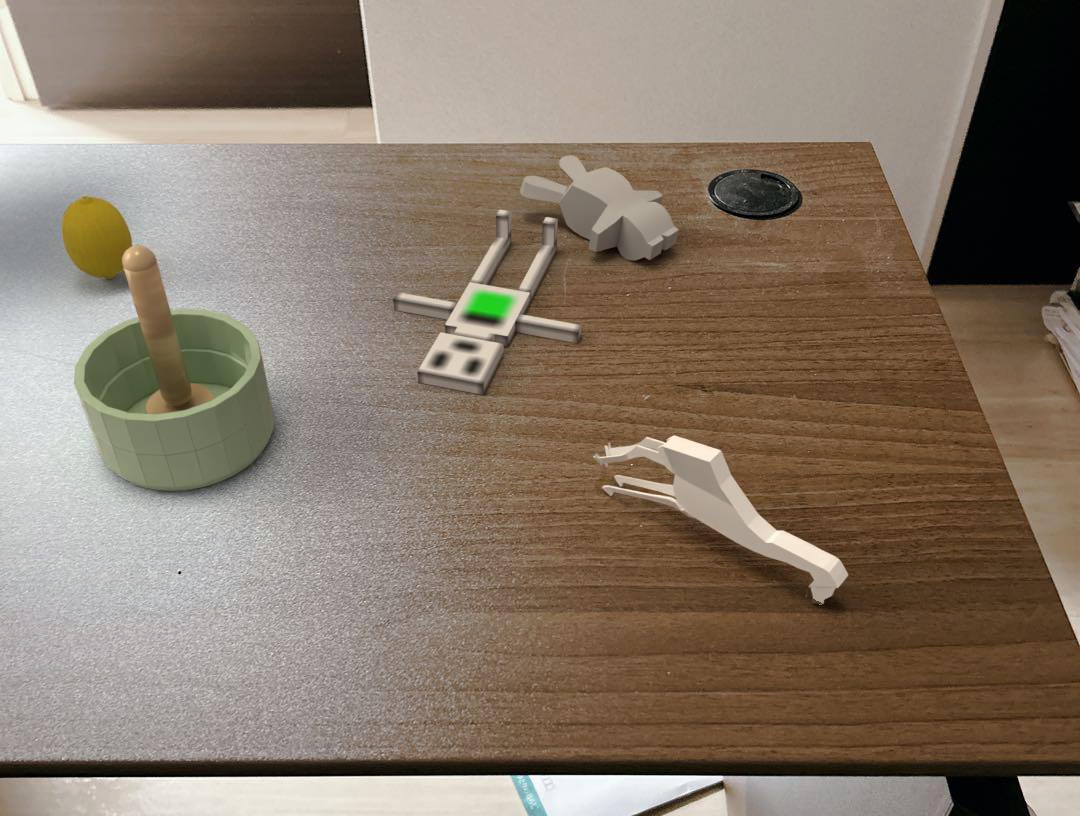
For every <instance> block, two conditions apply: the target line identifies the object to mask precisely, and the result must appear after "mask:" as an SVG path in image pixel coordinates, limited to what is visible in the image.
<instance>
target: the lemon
mask: <svg viewBox="0 0 1080 816" xmlns="http://www.w3.org/2000/svg"><path fill="white" fill-rule="evenodd" d="M124 218H125V217H124V216H123V215H122V214H121V212H120V211H119V210H118V208H117V207H116V206H114V204H113V203H111V202H110V201H107V200H105V199H103V198H100V197H96V196H89V195H83V196H81V197H80V198H79V199H77V200H75V201H73V202H72V203H70V205H69V206H68V207H67V208H66V210H65V211H64V213H63V216H62V220H61V235H62V241H63V244H64V248H65V251H66V253H67V255H68V257H69V258H70V259H69V260H71V262H72V263H73V264H74V265H75V267H77V269H79V270H80V271H81V272H82V273H85V274H86V275H89V276H90V277H94V278H100V279H105V280H108V281H109V280H112V279H113V278H114V277H115V276H117V275H118V274H120V273H122V272H123V271H124V268H123V264H122V258H123V255H124V253H125V251H126V250H127V249H129V248H130V247H132V246H133V240H132V234H131V231H130V229H129V225H128V224H127V222H126V220H125V219H124Z"/></svg>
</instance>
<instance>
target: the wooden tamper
mask: <svg viewBox="0 0 1080 816" xmlns="http://www.w3.org/2000/svg"><path fill="white" fill-rule="evenodd" d="M122 264H123V268H124V270H123V271H124V275H125V278H126V282H127V285H128V288H129V291H130V295H131V298H132V301H133V305H134V308H135V311H136V315H137V317H138V318H139V322H140V325H141V328H142V332H143V335H144V339H145V342H146V345H147V349H148V352H149V355H150V359H151V362H152V365H153V369H154V372H155V375H156V379H157V382H158V386H159V389H160V390H158V391H156V392H155V393H154V394H153V395H152V396H151V397H150V398H149V399H148V401H147V403H146V408H145V409H146V414H163V413H170V412H177V411H184V410H187V409H190V408H193V407H195V406H198V405H201V404H204V403H207V402H210V401H212V400H213V399H214V396H213V394H212V392H211V391H210V390H209V389H208V388H206V387H205V386H202V385H200V384H196V383H190V381H189V377H188V374H187V370H186V366H185V363H184V359H183V355H182V352H181V348H180V344H179V341H178V337H177V333H176V330H175V326H174V322H173V319H172V315H171V311H170V310H171V307H170V304H169V301H168V297H167V296H168V295H167V293H166V289H165V286H164V283H163V278H162V274H161V271H160V267H159V264H158V260H157V258H156V254H155V253H154V251H152V250H151V249H150V248H148V247H146V246H145V245H140V244H139V245H132V247H130V248H129V249H127V250H126V251H125V253H124V255H123V258H122Z"/></svg>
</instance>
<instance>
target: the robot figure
mask: <svg viewBox="0 0 1080 816" xmlns="http://www.w3.org/2000/svg"><path fill="white" fill-rule="evenodd" d="M541 227H542V231H541V232H542V233H541V246H540V248H539V250H538V251H537V254H536V255H535V257H534V259H533V261H532V263H531V265H530V267H529V269H528V270H527V273H526V274H525V276H524V278H523V280H522V282H521V284H520V286H519V288H518V289H511V288H505V287H500V286H495V285H489V283H490V282H491V280H492V278H493V276H494V275H495V273H496V271H497V269H498V267H499V266H500V264H501V262H502V260H503V259H504V257H505V255H506V253H507V252H508V250H509V249H510V247H511V245H512V211H511V210H505V209H498V211H497V212H496V215H495V235H496V236H495V239H494V240H493V242H492V244H491V245H490V247H489V249H488V251H486V254H485V256H484V257H483V259H482V261H481V262H480V264H479V266H478V268H477V269H476V271H475V272H474V274H473V275H472V278H471V279H470V281H469V283H468V285H467V286H466V288H465V290H464V291H463V293H462V295H461V297H460V298H459V299H458V301H457V302H454V301H448V300H444V299H443V300H442V299H438V298H432V297H426V296H422V295H417V294H416V295H415V294H409V293H404V292H398V291H397V292H396V294H395V296H394V297H393V298H392V303H393V310H394V311H397V312H403V313H409V314H414V315H420V316H426V317H431V318H437V319H441V320H446V322H445V324H444V330H445V331H444V332H439V334H438V336H437V337H436V339H435V341H434V342H433V344H432V346H431V348H430V349H429V350H428V352H427V354H426V356H425V358H424V359H423V361H422V362H421V364H420V366H419V368H418V369H417V382H418V384H425V385H428V386H429V385H430V386H435V387H439V388H445V389H449V390H455V391H460V392H466V393H470V394H471V393H472V394H476V395H481V396H483V395H484V394H485V392H486V390H487V388H488V386H489V384H490V383H491V380H492V379H493V376H494V375H495V373H496V371H497V369H498V367H499V365H500V363H501V361H502V359H503V357H504V355H505V352H504V350H505V349H504V347H505V348H508V347H509V345H510V343H511V341H512V340H513V337H514V335H515V334H516V333H519V334H524V335H529V336H535V337H541V338H546V339H552V340H557V341H561V342H568V343H574V344H579V341H580V339H581V337H582V326H583V325H582V324H577V323H571V322H567V321H561V320H555V319H550V318H544V317H539V316H533V315H527V314H526V312H527V310H528V308H529V306H530V304H531V302H532V300H533V298H534V296H535V295H536V292H537V290H538V289H539V286H540V284H541V282H542V280H543V278H544V277H545V274H546V273H547V270H548V269H549V266H550V265H551V263H552V261H553V259H554V257H555V256H556V253H557V251H558V218H554V217H549V216H545V217H544V220H543V221H542V225H541Z"/></svg>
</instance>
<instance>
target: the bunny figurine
mask: <svg viewBox="0 0 1080 816" xmlns="http://www.w3.org/2000/svg"><path fill="white" fill-rule="evenodd" d="M558 164H559V168H560V170H562V172H564V174H565V175H566V176H567V177H568V178H569V179H570V180H571V181H572V182H571V183H570V185H569V186H567V185H564V184H561V183H558V182H556V181H554V180H550V179H547V178H544V177H542V176H538V175H526V176H525V177H524V178H523V180H522V183H521V186H520V188H519V191H518V192H519V193H520V195H521V196H522V197H524V198H526V199H530V200H535V201H536V200H537V201H541V202H548V203H554V204H558V206H559V208H560V211H561V213H562V216H563V218H564V221H565V224H566V226H567V227H568V228H569V229H571V231H573V232H574V233H576V234H578V235H579V236H581V237H582V238H584V239H586V240H589V244H588V250H589V251H592V252H595V253H598V252H601V251H605V250H609V249H613V248H617V250H618V252H619V254H620V256H622V257H623V258H624V259H625V260H627V261H634V262H635V261H638V260H641V259H644V258H645V259H647V260H648V261H651V260H652V259H654V258H655V257H657V256H659V255H661V254H662V250H663V251H667V250H668V249H670V248H671V247H673V246H674V245H676V244H677V241H678V236H679V232H680V229H679V228H677V227H676V226H675V225H674V221H673V220H672V217H671V215H670V213H669V212H668V210H667V209H666V207H665V206H663V201H664V195H663V194H662V193H661V192H660V191H659V190H639V189H638V190H637V189H634V188H633V186H632V185H631V183H630V181H629V180H628V179H627V178H626V177H624V176H623V175H622V174H621V173H619V172H618V171H616V170H615V169H612V168H609V167H607V166H604V167H601V168H600V167H599V168H597V169H594V170H590V171H587V170H586V168H585V167H584V165H583V164H582V161H581V160H580V159H579V158H578V157H577V156H576V155H571V154H568V155H565V156H562V157H561V158H560V159H559V161H558Z"/></svg>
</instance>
